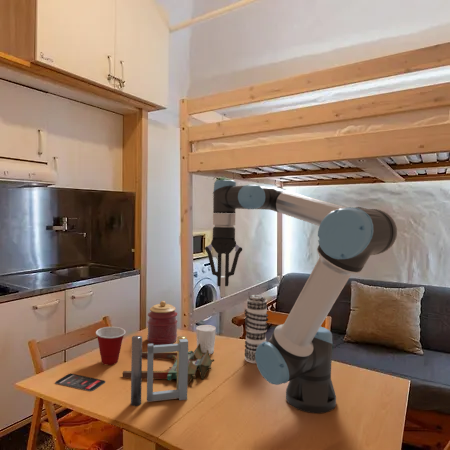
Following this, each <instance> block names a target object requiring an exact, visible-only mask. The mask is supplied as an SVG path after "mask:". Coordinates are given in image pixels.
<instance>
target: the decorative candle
mask: <svg viewBox="0 0 450 450" xmlns="http://www.w3.org/2000/svg"><path fill="white" fill-rule="evenodd" d="M246 301H247V305H246V308H245V309H244V316H245V318H244V320H245V322H244V324H245V327H244V328H245V331H246V335H245V340H244V344H245V345H244V348H245V349H244V360H245V361H246V362H248V363H249V364H257V363H256V359H255V353H256V349H257V347H258V345H259V344H261V343H263V342H265V341H267V337H266V335H267V333H266V332H267V331H268V327H267V326H268V323H267V321H269V318H268V317H269V314H267V312H268V308H267V302H268V299H267V298H266V297H265V296H264V295H261V294H252V295H249V297H248V298H246Z"/></svg>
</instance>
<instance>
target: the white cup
mask: <svg viewBox="0 0 450 450" xmlns="http://www.w3.org/2000/svg"><path fill="white" fill-rule="evenodd" d="M195 329H196V348H197V347H198V345H199V344H200V346H201V351H202V353H206V351H207V350H208V351H209V355H211V354H212V355H213V354H214V351H215V343H216V329H217V328H216V326H214V325H210V324H202V325H201V324H200V325H198V326H196V328H195Z"/></svg>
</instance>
